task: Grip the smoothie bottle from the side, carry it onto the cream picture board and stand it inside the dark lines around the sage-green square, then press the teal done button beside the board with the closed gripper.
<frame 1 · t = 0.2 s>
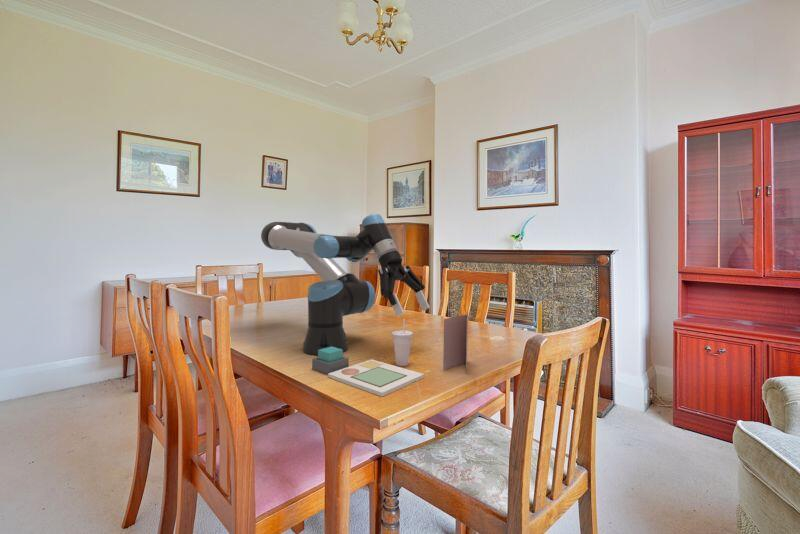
hand: (414, 311, 120), 15 cm above the table, tool tilted 35°, fingers open, 13 cm apart
smoothie: (402, 364, 114), on the table
picture board: (376, 377, 102), on the table
done button: (330, 354, 109), point 4 cm above the table, slide at 0.0 cm
greeting card: (463, 368, 110), on the table
button housing: (330, 368, 109), on the table
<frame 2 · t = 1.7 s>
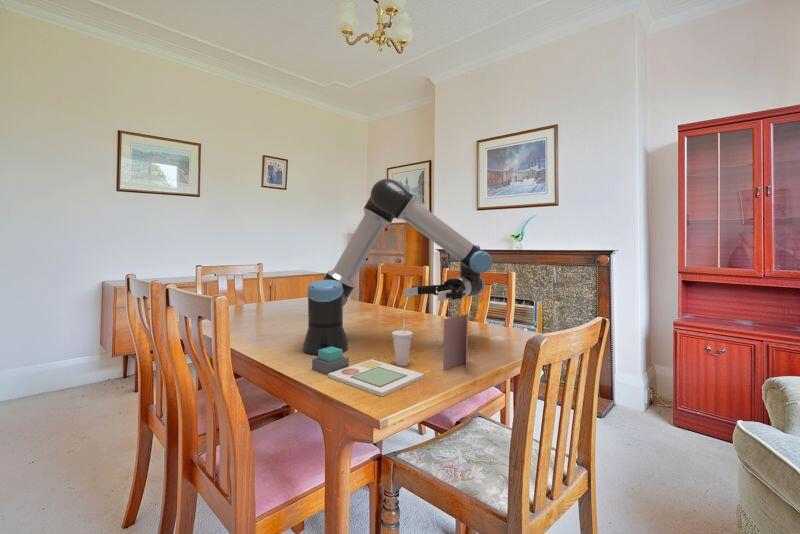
hand: (421, 294, 120), 20 cm above the table, tool horizontal, fingers open, 13 cm apart
nothing on the table moved.
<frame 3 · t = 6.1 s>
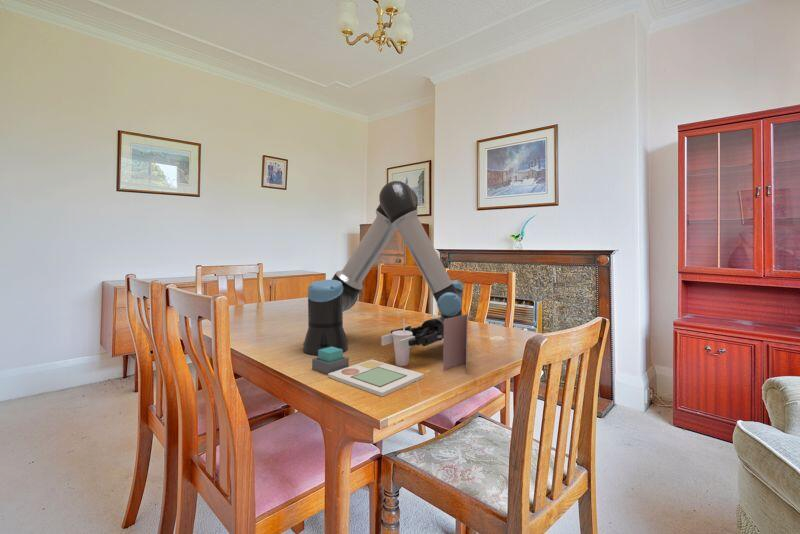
hand: (391, 343, 109), 8 cm above the table, tool horizontal, fingers closed on smoothie, 6 cm apart
smoothie: (402, 364, 114), on the table, touching gripper
everything else where it was.
when the fingers open (10 cm above the table, at t = 11.8 s): smoothie drops 1 cm, resting on picture board.
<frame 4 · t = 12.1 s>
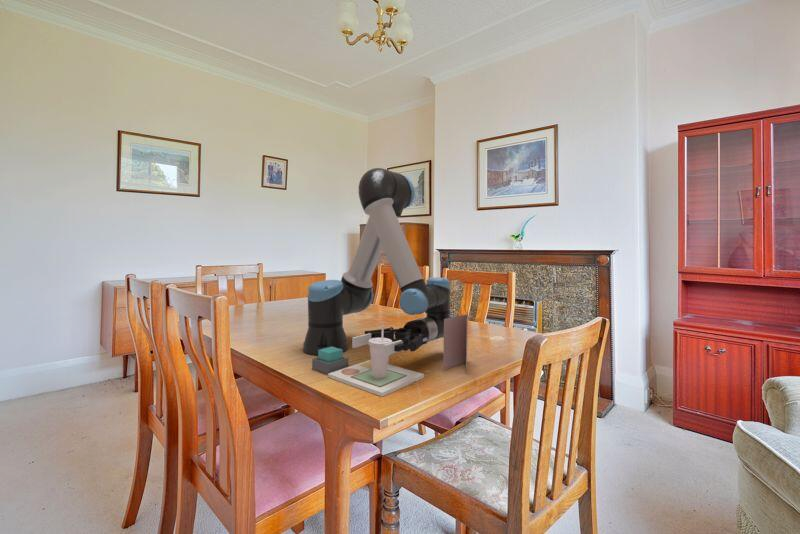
hand: (368, 346, 96), 10 cm above the table, tool horizontal, fingers open, 10 cm apart
smoothie: (379, 376, 100), point 1 cm above the table, touching picture board
everything else where it was.
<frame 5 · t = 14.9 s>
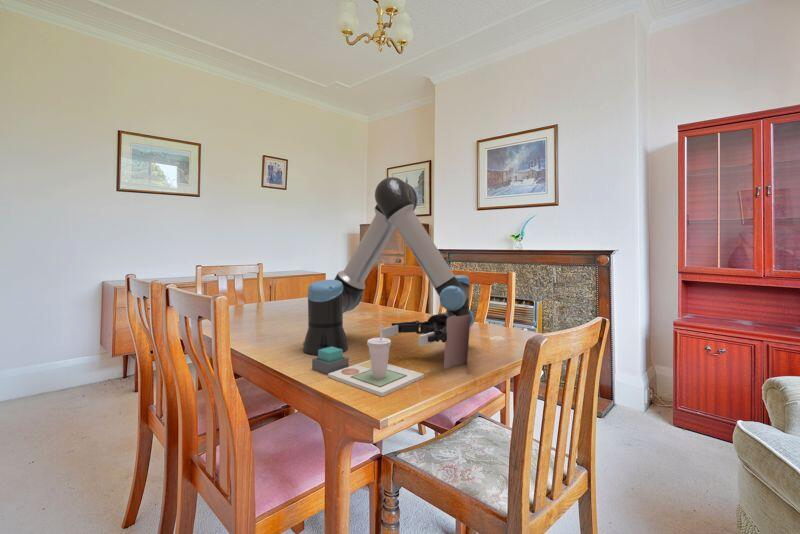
hand: (400, 337, 106), 10 cm above the table, tool horizontal, fingers open, 13 cm apart
greeting card: (463, 368, 110), on the table, touching hand
everything else where it was.
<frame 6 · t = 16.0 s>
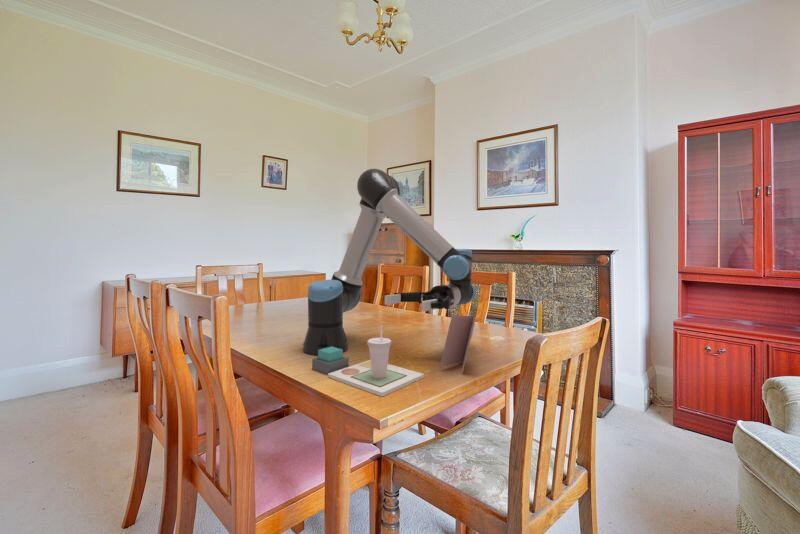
hand: (403, 303, 106), 20 cm above the table, tool horizontal, fingers open, 13 cm apart
greeting card: (459, 368, 110), on the table
everything else where it was.
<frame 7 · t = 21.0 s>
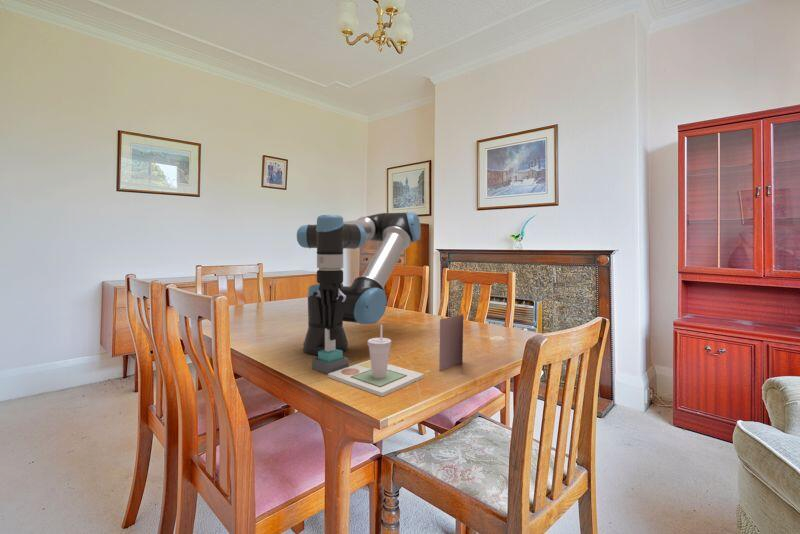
hand: (330, 350, 109), 5 cm above the table, tool pointing down, fingers closed
done button: (330, 356, 109), point 4 cm above the table, slide at 0.4 cm, touching gripper
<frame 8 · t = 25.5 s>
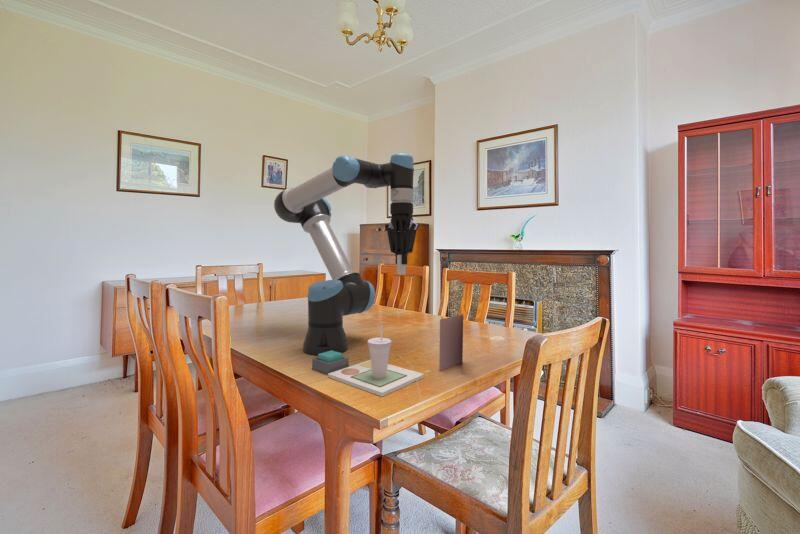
hand: (401, 274, 124), 26 cm above the table, tool pointing down, fingers closed
done button: (330, 358, 109), point 3 cm above the table, slide at 1.2 cm
at the end: smoothie 0.1 cm from the target spot on the picture board, point 0.9 cm above the picture board's base; smoothie tilted 0°; done button slide at 1.2 cm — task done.
